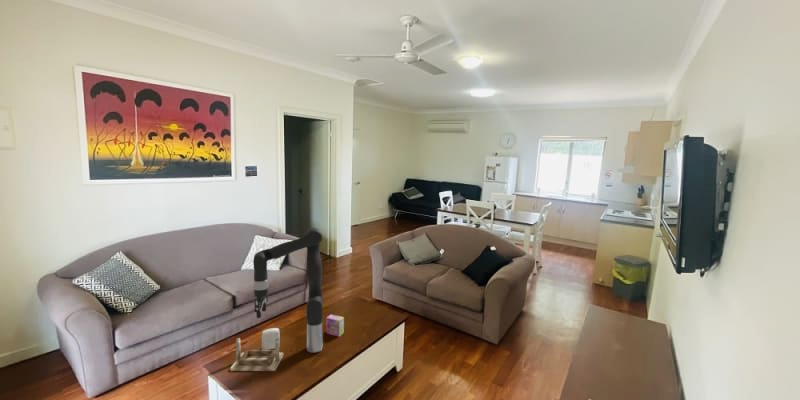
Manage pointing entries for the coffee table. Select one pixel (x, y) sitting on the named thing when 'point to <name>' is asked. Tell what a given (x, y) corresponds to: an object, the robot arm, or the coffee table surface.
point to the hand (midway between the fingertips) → (261, 314)
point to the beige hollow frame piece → (256, 359)
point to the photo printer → (270, 338)
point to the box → (335, 325)
